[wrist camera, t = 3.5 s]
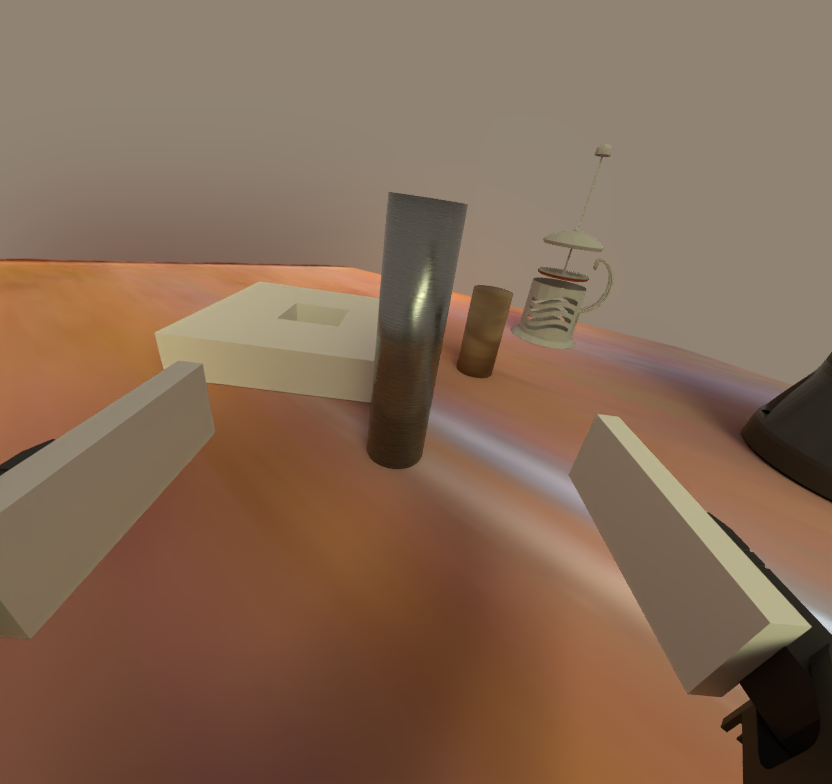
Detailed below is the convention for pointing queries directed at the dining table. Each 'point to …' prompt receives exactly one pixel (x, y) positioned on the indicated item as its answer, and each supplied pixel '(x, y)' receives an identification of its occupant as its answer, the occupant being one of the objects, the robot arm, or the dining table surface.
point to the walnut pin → (483, 330)
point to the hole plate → (281, 341)
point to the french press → (546, 325)
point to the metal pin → (411, 322)
